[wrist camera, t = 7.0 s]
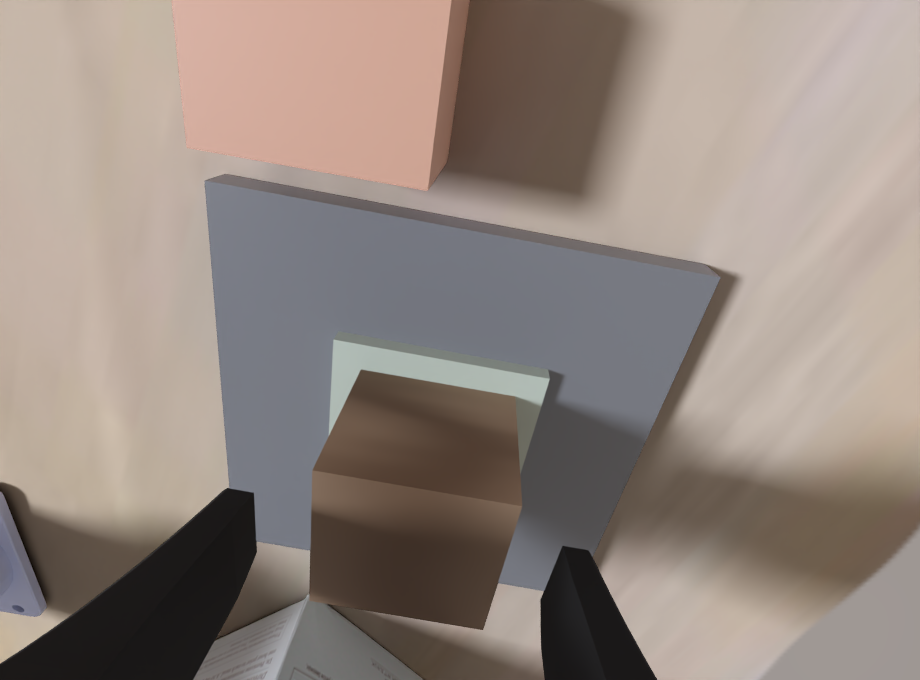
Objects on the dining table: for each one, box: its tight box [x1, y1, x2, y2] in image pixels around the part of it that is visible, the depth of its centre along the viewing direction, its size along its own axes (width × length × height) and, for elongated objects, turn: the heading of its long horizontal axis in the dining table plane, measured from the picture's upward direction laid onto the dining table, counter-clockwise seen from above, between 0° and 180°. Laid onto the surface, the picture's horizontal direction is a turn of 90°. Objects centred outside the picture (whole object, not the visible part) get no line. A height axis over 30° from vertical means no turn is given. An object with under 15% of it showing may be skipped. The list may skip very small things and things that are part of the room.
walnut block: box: [309, 369, 522, 630], centre depth 13 cm, size 4×4×4 cm
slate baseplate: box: [205, 174, 721, 591], centre depth 15 cm, size 13×13×2 cm
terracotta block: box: [172, 0, 470, 191], centre depth 9 cm, size 4×4×4 cm
